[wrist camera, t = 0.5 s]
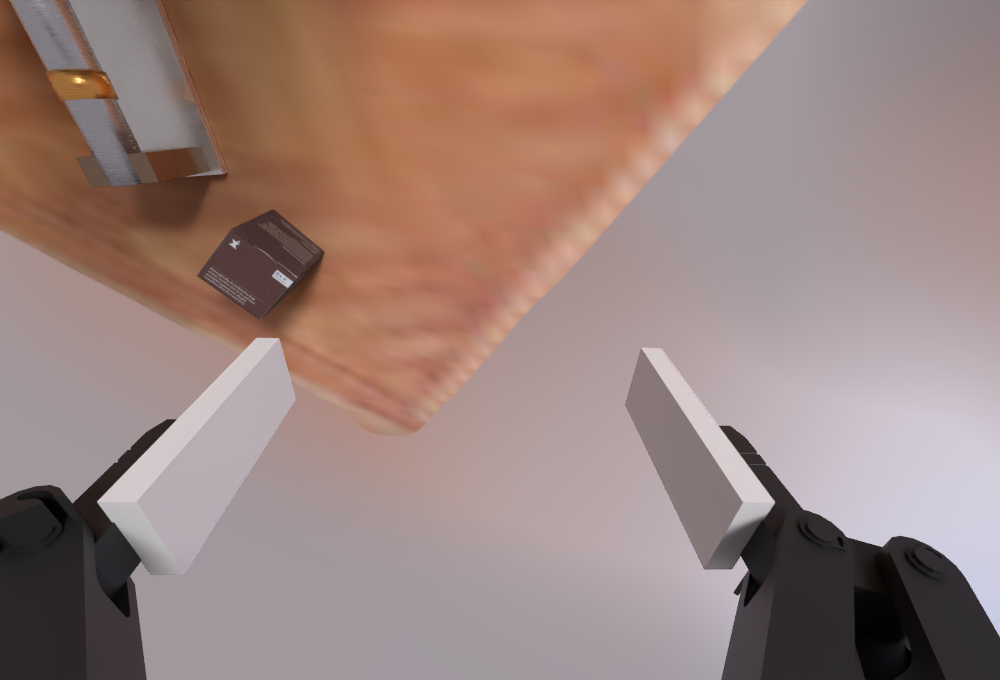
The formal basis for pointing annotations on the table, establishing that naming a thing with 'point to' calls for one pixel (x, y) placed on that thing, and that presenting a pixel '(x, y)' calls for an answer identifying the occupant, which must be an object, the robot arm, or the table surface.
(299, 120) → the table surface
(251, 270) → the box
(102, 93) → the pipe rig
